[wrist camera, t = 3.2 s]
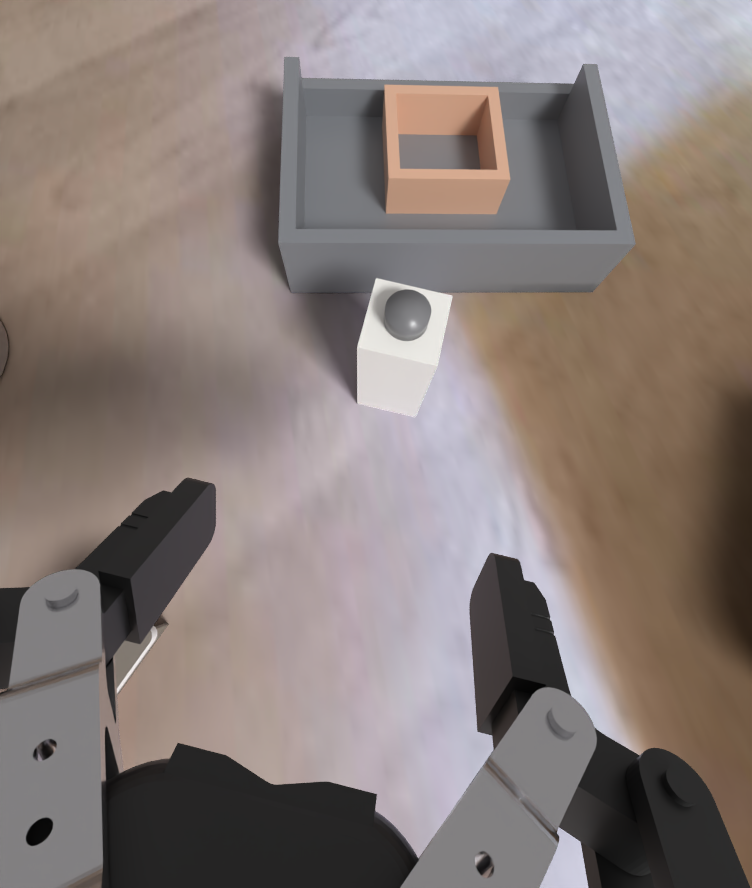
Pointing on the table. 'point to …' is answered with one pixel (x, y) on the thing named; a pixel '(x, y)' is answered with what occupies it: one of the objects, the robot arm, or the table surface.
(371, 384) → the plug
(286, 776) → the table surface
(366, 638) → the table surface
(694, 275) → the table surface
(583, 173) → the walled box
